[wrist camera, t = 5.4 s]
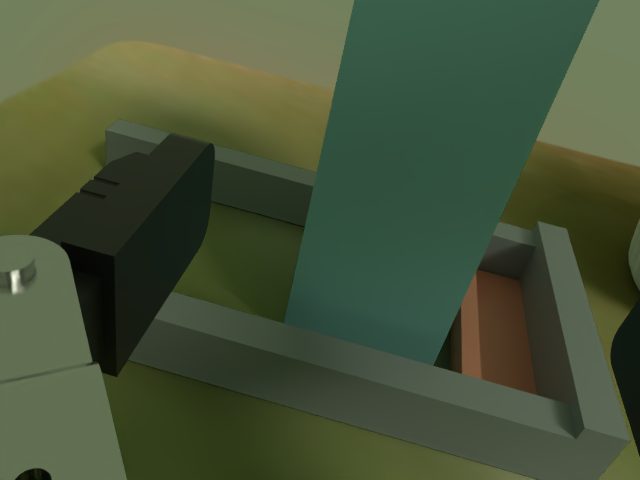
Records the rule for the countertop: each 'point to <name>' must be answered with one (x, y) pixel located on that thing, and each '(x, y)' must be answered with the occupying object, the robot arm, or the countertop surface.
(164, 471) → the countertop surface
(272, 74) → the countertop surface
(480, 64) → the teal block
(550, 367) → the grey rectangular frame
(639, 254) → the ramekin
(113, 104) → the countertop surface
